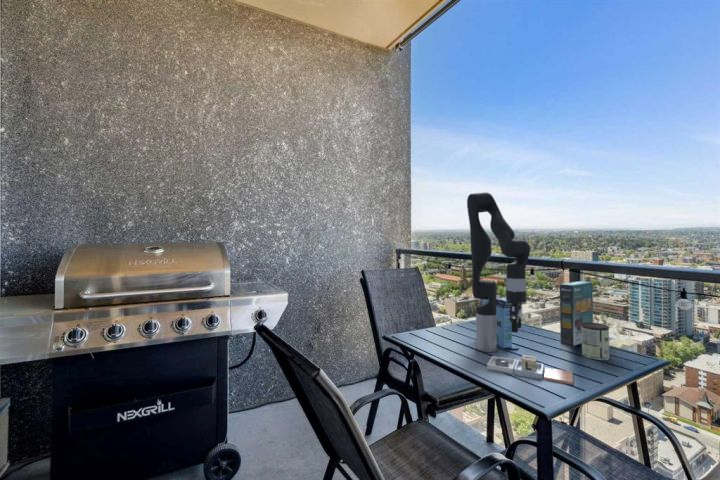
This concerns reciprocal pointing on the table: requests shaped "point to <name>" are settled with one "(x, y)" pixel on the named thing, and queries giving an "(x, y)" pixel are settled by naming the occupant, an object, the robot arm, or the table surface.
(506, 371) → the near tray
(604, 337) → the coffee can
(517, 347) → the table surface
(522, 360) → the letter cube
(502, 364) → the grey domed disc
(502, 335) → the gum box
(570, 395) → the table surface
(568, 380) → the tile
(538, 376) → the middle tray
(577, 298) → the cake mix box
